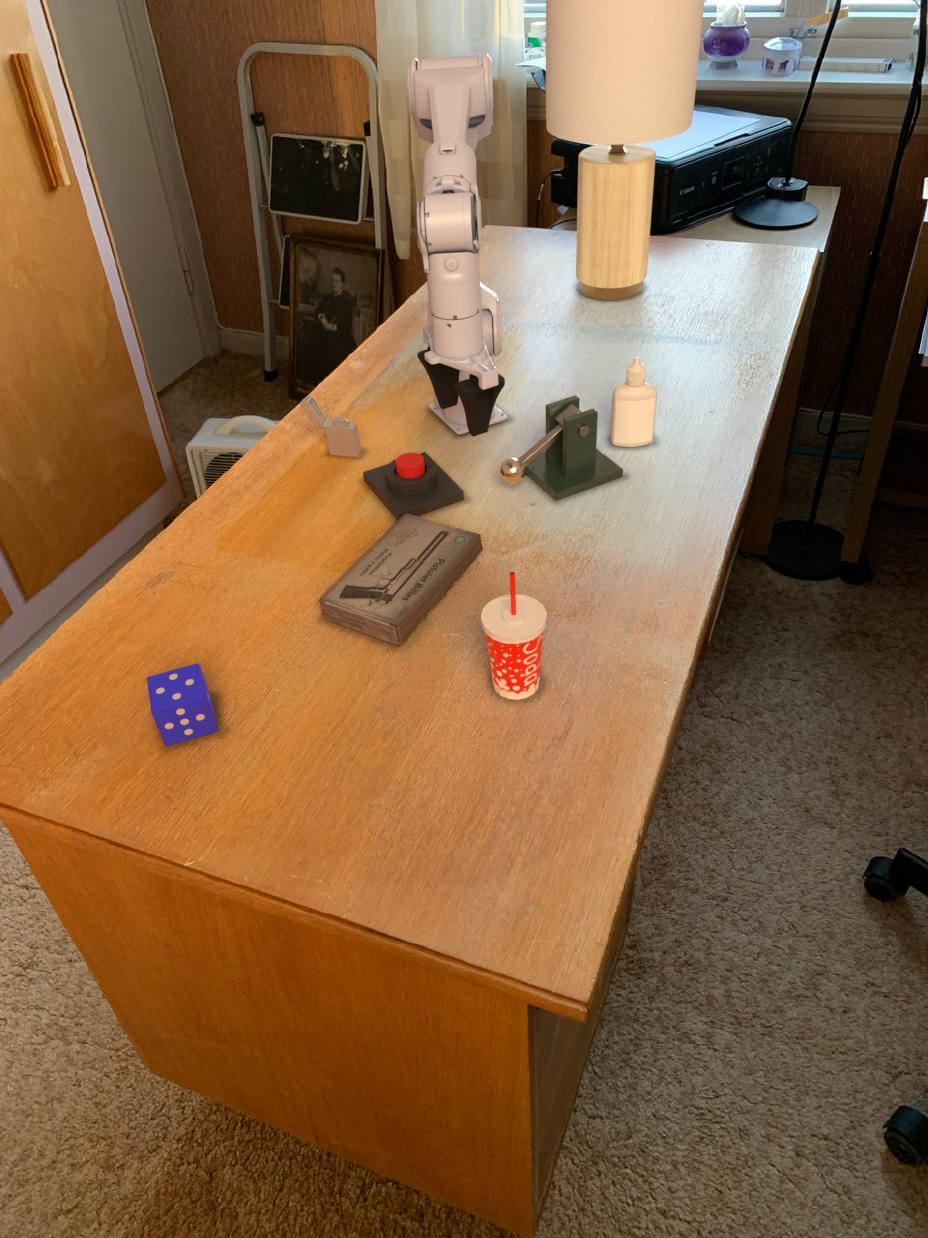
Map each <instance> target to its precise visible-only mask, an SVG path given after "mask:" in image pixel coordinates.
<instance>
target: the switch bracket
mask: <svg viewBox="0 0 928 1238" xmlns="http://www.w3.org/2000/svg"><path fill="white" fill-rule="evenodd" d="M580 401H581V398H580V397H579V396H577V395H575V394H574V395H572V396H569V397H566V398H563V399H559V400H556V401H552V402H550V403H546V404H545V436H546V435H547V434H548V433H549V432H550V431H551V430H553V429H554V428H555V427H556V426H557V425H558V424H557V422H556V420H555V418H556V417H557V416H558V415H559V414H560V413H561V412H563V411H564V410H565V409H566V408H567V407H568V406H570V405H571V404H572V405H574V406H575V407H576V408H578V409H579V410H580V403H581V402H580ZM598 417H599V411H598V410H596V409H595V408H594V407H593V408H590V409H586V410H584V411H581V413H578V414H575V415H572V416H569V417H566V418H563V436H562V437H561V438H560V439H558V440H557V441H556V442H555V443H554V444H553V445H551V446H550V447H549V448H548V449H547V450H545V451H544V452H543V453H542V454H541V455H540V456H538V457H537V458H536V459H535V460H534V461H533V462H531V463H530V464H529V465H528V466H527V467H526V468H525V469H526V473H525V476H527V477H528V478H530V479H531V480H532V481H533V482H534V483H535V484H536V485H537V486H538V487H539V488H541V489H542V491H544V492H545V493H546V494H547V495H549V496H550V497H551V498H552V499H553V500H554V501H555V502H557V501H561V500H563V499H566V498H569V497H571V496H574V495H577V494H579V493H582V492H585V491H588V490H590V489H593V488H596V487H598V486H601V485H604V484H606V483H609V482H613V481H615V480H618V479H620V478H623V475H624V474H623V473H624V469H623V468H622V467H621V466H620V465H618V464H617V463H616V462H615V461H613V460H612V459H611V458H609V457H608V456H607V455H606V454H604V453H603V452H602V451H601V450H600V449H598V448H597V443H598V441H597V439H598Z"/></svg>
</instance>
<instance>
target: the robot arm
mask: <svg viewBox="0 0 928 1238" xmlns="http://www.w3.org/2000/svg"><path fill="white" fill-rule="evenodd" d="M406 75H407V92H408V101H409V102H408V103H409V109H410V114H411V115H412V120H413V124H414V129H415V131H417V135H418V138H419V139H420V140H423V141H426V142H427V143H430V144H431V145H430V146H429V147H428V148H427V149H426V151H425V153H424V155H423V161H422V163H423V164H422V165H423V166H422V200H417V202H416V203H417V204H416V228H417V229H416V230H417V238H418V244H419V248H420V251H421V255H422V262H423V263H422V264H423V271H424V273H426V282H427V292H428V294H427V295H428V303H427V305H426V311H427V316H426V325H424V326H422V328H421V329H422V338H423V339H422V340H423V343H424V344H426V345H427V349H423V350H421V351H419V352H418V353H417V354H416V357H417V359H418V361H419V362H420V363H421V364H422V366H423V368H424V369H425V372H426V374H427V375H428V378H429V380H430V383H431V385H432V388H433V389H432V390H433V398H434V399H433V400H434V402H433V403H431V404H429V406H428V408H429V410H431V412H433V414H435V415H436V416H437V417H438V418H439V419H440V420H441V421H442V422H443V423H445V424H446V425H447V427H449V428H450V429H451V430H452V431H453V432H454V433H455V434H456V435H459V436H461V435H464V434H468V433H469V434H470V436H471V437H476V436H479V435H483V434H486V433H488V431H489V427H490V426H491V425H496V424H498V423H501V422H504V421H506V420H507V419H508V415H507V414H505V412H504V411H502V410H501V409H499V407H497V406H496V401H497V399H498V397H499V396H500V393H501V392H502V390H503V388H504V387H505V385H506V379H505V377H504V376H502V375H501V374H500V373H499V369H498V368H497V367H496V366H495V365H494V360H495V359H494V358H495V357H500V355H501V354H502V352H503V343H502V341H503V340H502V313H501V310H500V299H499V298H498V295H497V293H496V292H494V291H492V289H490V288H489V287H487V285H484V284H482V282H481V264H480V263H481V262H480V252H481V251H482V246H483V221H482V220H483V219H482V203H481V198H480V195H479V190H478V183H477V182H478V180H477V176H478V175H477V174H478V173H477V172H478V171H477V157H476V150H477V146H478V142H480V141H481V140H482V139H484V138H486V137H487V136H489V135H490V134H491V133H492V126H493V125H494V119H493V116H494V113H493V111H494V88H493V83H494V82H493V59H492V57H490V55H489V54H488V53H487V52H483V53H482V55H481V54H476V55H475V54H474V55H461V56H460V55H459V56H447V57H433V58H431V57H429V58H417V57H412V58H411V59H410V61H409V62H408V64H407V74H406ZM477 242H478V244H477ZM483 307H486V308H483Z"/></svg>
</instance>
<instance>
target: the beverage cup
mask: <svg viewBox="0 0 928 1238" xmlns="http://www.w3.org/2000/svg"><path fill="white" fill-rule="evenodd" d="M547 618H548V612H547V610H546V609H545V606H544V605H543V604H542V602H540V601H538V600H537V599H536V598H534V597H531V596H528V595H525V594H518V593H517V594H516V572H515V571H510V572H509V594H504V595H500V596H498V597H496V598H494V599H492V600H490V601H488V603H487V604H486V605H485V606H484V607H483V608H482V611H481V615H480V621H481V626H482V629H483V632H484V634H485V641H486V646H487V652H488V658H489V659H488V660H489V667H490V673H491V679H492V680H491V682H492V685H493V689H494V691H495V692H496V693H497V694H498V695H499V696H501V697H503V698H505V699H507V700H516V701H519V700H524V699H527V698H529V697H531V696H533V695H534V694H535V693H536V692H537V691H538V689H539V685H540V679H541V663H542V651H543V639H544V638H543V637H544V630H545V629H546V625H547Z"/></svg>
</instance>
